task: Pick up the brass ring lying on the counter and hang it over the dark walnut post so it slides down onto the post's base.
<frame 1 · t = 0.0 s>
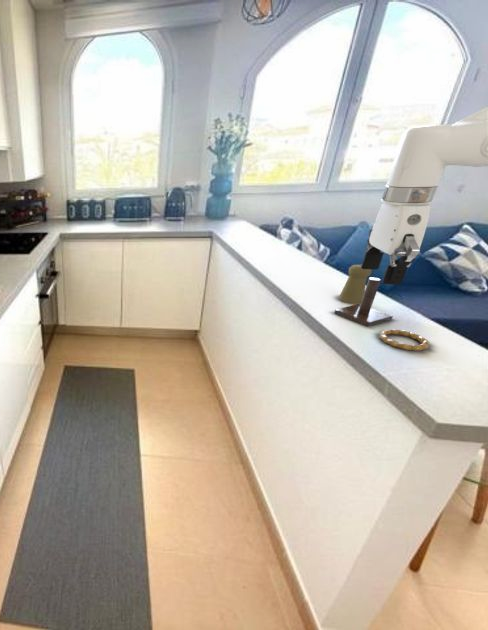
hand: (379, 276, 76), 18 cm above the table, tool pointing down, fingers open, 9 cm apart
cork: (350, 300, 106), on the table
rack: (362, 316, 96), on the table
ring: (403, 339, 83), point 1 cm above the table
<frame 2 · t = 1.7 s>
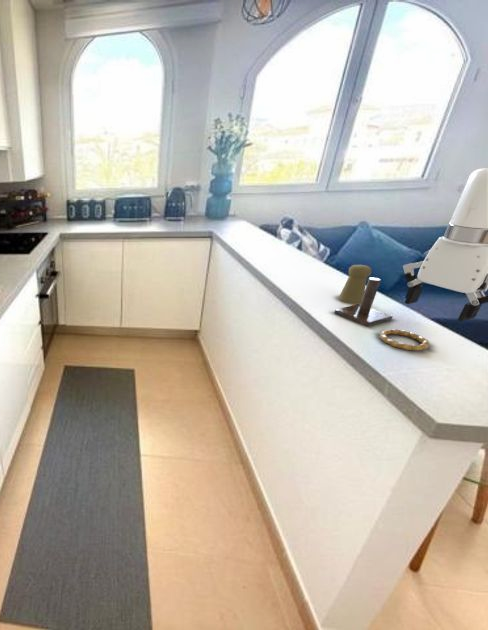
hand: (435, 310, 76), 10 cm above the table, tool pointing down, fingers open, 9 cm apart
nothing on the table moved.
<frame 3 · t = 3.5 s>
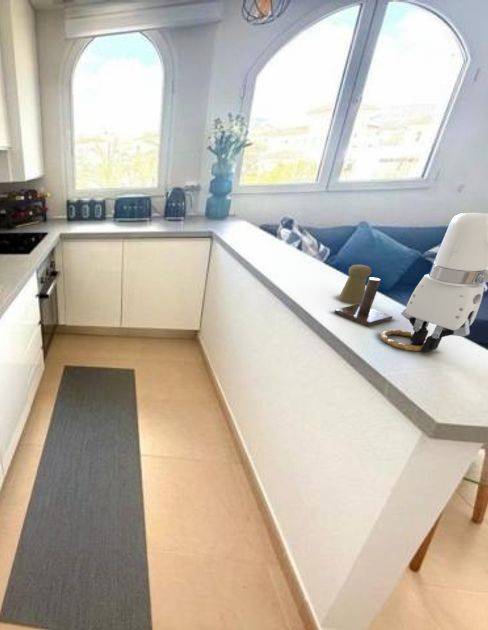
hand: (421, 347, 80), 0 cm above the table, tool pointing down, fingers closed on ring, 1 cm apart
ring: (404, 339, 83), point 1 cm above the table, touching gripper
everything else where it was.
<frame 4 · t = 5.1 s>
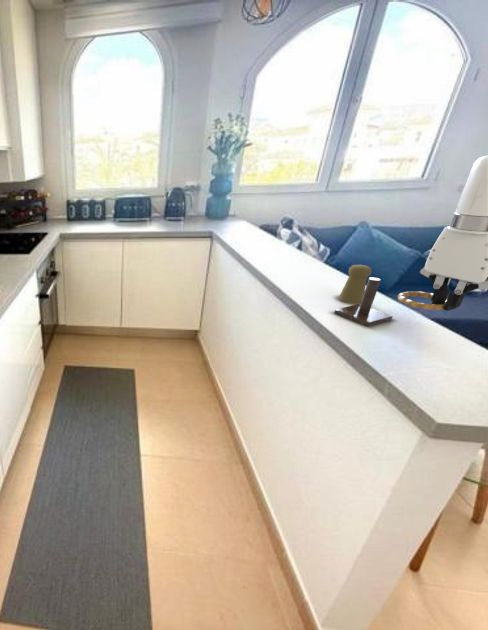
hand: (443, 306, 75), 11 cm above the table, tool pointing down, fingers closed on ring, 1 cm apart
ring: (423, 300, 78), point 11 cm above the table, touching gripper
everything else where it was.
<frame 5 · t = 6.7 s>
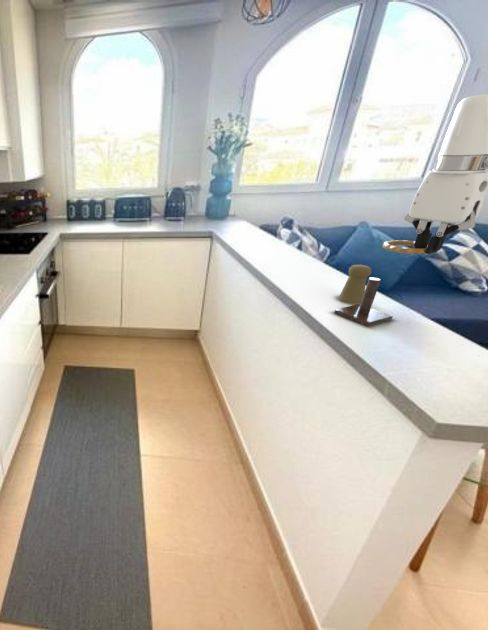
hand: (425, 251, 78), 21 cm above the table, tool pointing down, fingers closed on ring, 1 cm apart
ring: (407, 246, 81), point 22 cm above the table, touching gripper
everything else where it was.
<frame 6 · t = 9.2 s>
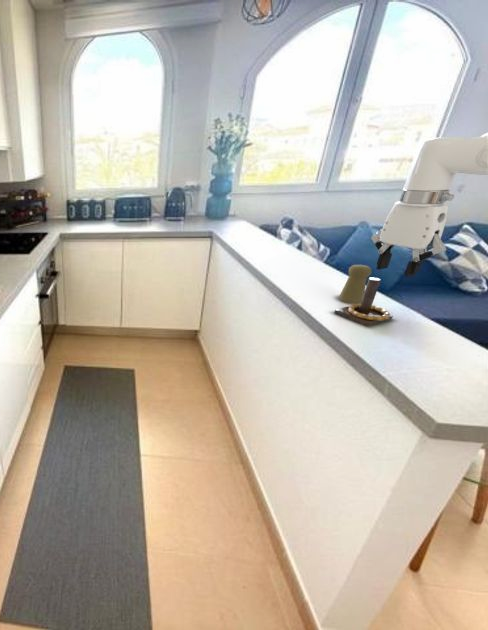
hand: (395, 271, 87), 14 cm above the table, tool pointing down, fingers open, 5 cm apart
ring: (368, 312, 95), point 2 cm above the table, touching rack
everything else where it was.
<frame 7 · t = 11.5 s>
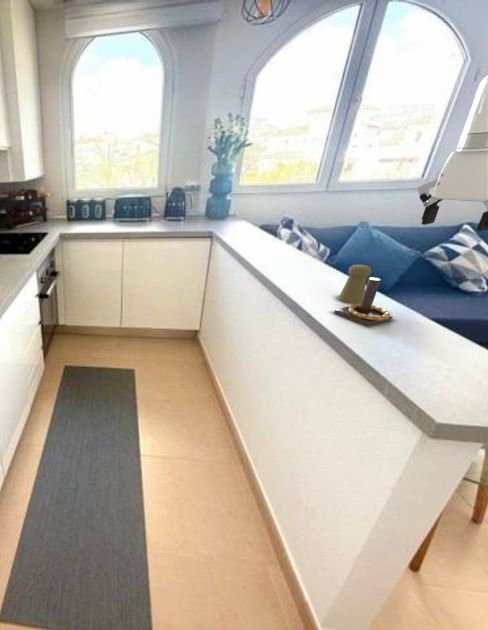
hand: (453, 226, 77), 26 cm above the table, tool pointing down, fingers open, 9 cm apart
nothing on the table moved.
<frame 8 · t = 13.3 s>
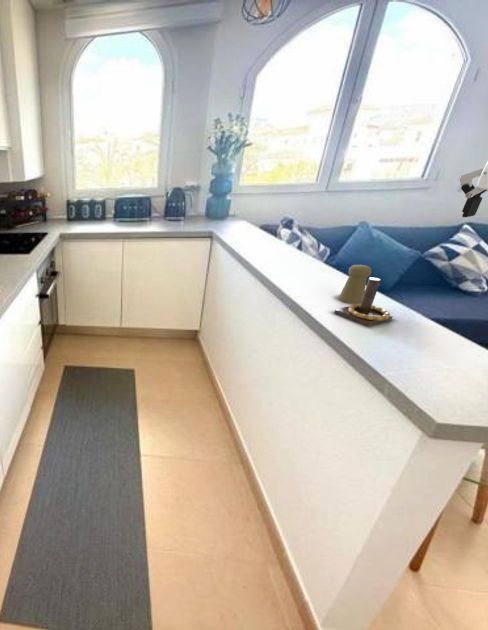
nothing on the table moved.
at the end: ring 1.1 cm from the rack (horizontally); ring point 1.8 cm above the table; the gripper is holding nothing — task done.
